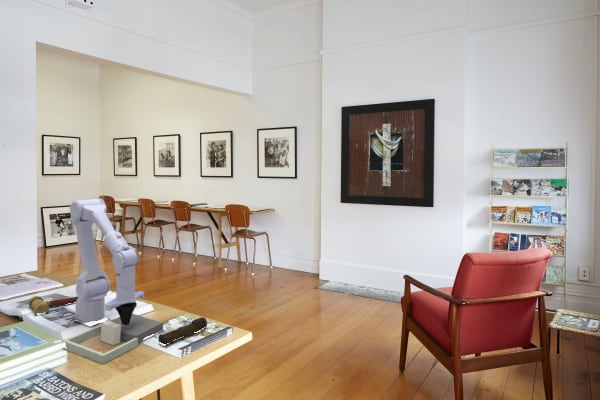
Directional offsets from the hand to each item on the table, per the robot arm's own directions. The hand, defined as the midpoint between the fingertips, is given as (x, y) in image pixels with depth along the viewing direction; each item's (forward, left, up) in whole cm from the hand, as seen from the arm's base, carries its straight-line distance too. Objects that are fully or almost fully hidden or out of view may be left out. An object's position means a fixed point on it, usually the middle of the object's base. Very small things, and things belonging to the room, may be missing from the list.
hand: (125, 324), depth 137 cm
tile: (0, -4, -1) cm, 4 cm away
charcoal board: (0, +3, -4) cm, 5 cm away
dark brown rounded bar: (+17, +10, -4) cm, 20 cm away
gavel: (-40, +6, -5) cm, 40 cm away
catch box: (0, -9, -4) cm, 10 cm away
